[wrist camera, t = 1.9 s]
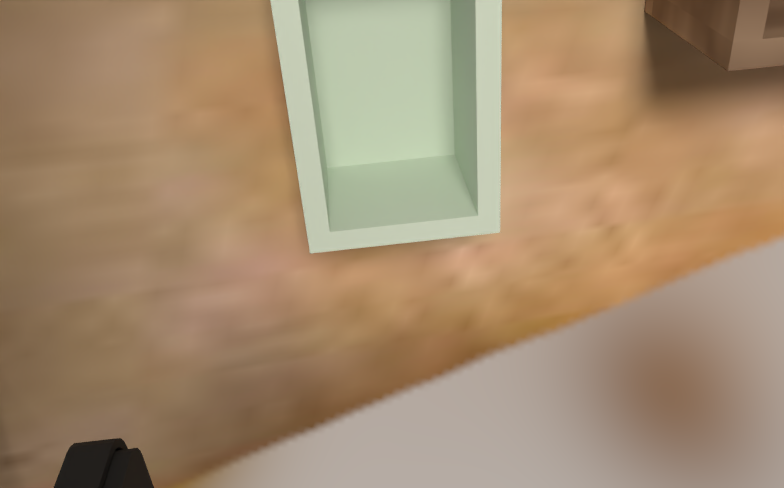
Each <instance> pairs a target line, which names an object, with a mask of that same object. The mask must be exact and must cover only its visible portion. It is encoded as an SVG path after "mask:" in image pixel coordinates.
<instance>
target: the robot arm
mask: <svg viewBox="0 0 784 488" xmlns="http://www.w3.org/2000/svg"><path fill="white" fill-rule="evenodd" d="M54 488H154V487H153V484H152V481H151V478H150V475H149V473H148V470H147V467H146V464H145V461H144V459H143V456H142V453H141V451H140V450H139V449H138V448H133V449H128V448H127V446H126V444H125V442H124V441H123V440H122V439H121V438H117V439H108V440H100V441H91V442H82V443H74V444H73V445H72V446H71V447H70V448H69V450H68V452H67V454H66V457H65V459H64V462H63V465H62V467H61V470H60V473H59V475H58V478H57V481H56V483H55V486H54Z"/></svg>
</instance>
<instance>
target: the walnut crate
mask: <svg viewBox="0 0 784 488" xmlns="http://www.w3.org/2000/svg"><path fill="white" fill-rule="evenodd" d="M645 12H646V13H648V14H649V15H651V16H652V17H653V18H655V19H656V20H658V21H659V22H660V23H662V24H663V25H664V26H666V27H667V28H669V29H670V30H671V31H673V32H674V33H676V34H677V35H678V36H680V37H681V38H683V39H684V40H685V41H687V42H688V43H689V44H691V45H692V46H694V47H695V48H696V49H698V50H699V51H701V52H702V53H703V54H705V55H706V56H707V57H709V58H710V59H712V60H713V61H714V62H716V63H717V64H719V65H720V66H721V67H723V68H724V69H725V70H727V71H735V70H744V69H754V68H764V67H773V66H783V65H784V0H646V3H645Z"/></svg>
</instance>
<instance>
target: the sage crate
mask: <svg viewBox="0 0 784 488" xmlns="http://www.w3.org/2000/svg"><path fill="white" fill-rule="evenodd" d="M270 1H271V7H272V14H273V20H274V26H275V33H276V39H277V46H278V52H279V58H280V65H281V71H282V77H283V84H284V90H285V97H286V103H287V109H288V116H289V122H290V128H291V135H292V141H293V148H294V154H295V160H296V167H297V173H298V179H299V186H300V192H301V199H302V205H303V211H304V218H305V224H306V230H307V237H308V243H309V250H310V253H319V252H328V251H337V250H346V249H355V248H364V247H373V246H382V245H391V244H400V243H409V242H419V241H428V240H437V239H446V238H455V237H464V236H473V235H482V234H491V233H500V175H501V36H502V0H270Z"/></svg>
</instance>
